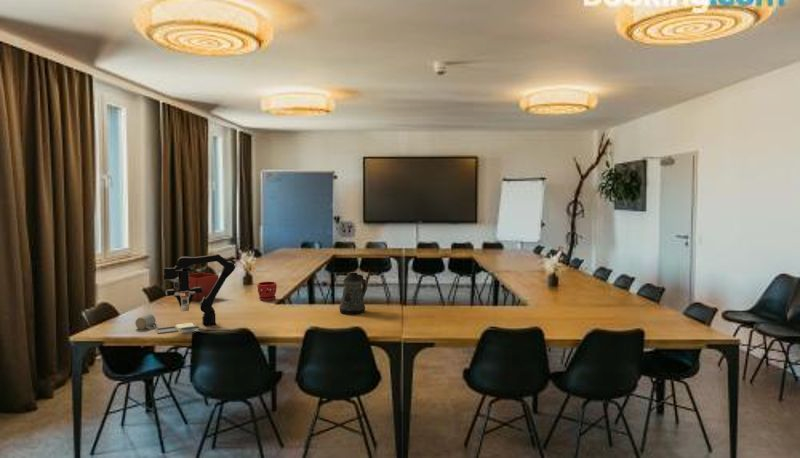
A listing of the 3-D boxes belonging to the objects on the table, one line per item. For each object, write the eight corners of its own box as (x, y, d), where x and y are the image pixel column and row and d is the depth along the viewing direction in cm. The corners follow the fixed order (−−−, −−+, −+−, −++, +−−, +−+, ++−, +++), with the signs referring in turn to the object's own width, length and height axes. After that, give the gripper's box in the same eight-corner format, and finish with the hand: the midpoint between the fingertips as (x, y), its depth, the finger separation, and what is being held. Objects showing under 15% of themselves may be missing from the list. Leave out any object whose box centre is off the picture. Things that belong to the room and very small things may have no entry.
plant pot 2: (257, 298, 386) (256, 281, 385) (275, 297, 390) (275, 281, 389) (258, 302, 373) (257, 284, 373) (277, 301, 377) (277, 284, 376)
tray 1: (175, 328, 303) (175, 326, 303) (178, 332, 295) (178, 330, 295) (155, 330, 298) (155, 328, 298) (158, 334, 289) (157, 332, 289)
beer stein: (335, 314, 338) (335, 274, 336) (345, 307, 357) (345, 270, 355) (360, 315, 334) (360, 276, 332) (369, 309, 353) (369, 271, 351)
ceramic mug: (134, 329, 299) (134, 316, 299) (144, 326, 307) (144, 313, 307) (150, 331, 297) (150, 317, 296) (160, 327, 305) (160, 314, 304)
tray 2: (199, 328, 304) (198, 325, 304) (202, 332, 295) (202, 330, 295) (179, 330, 298) (179, 328, 298) (182, 334, 290) (182, 332, 290)
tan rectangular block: (187, 309, 309) (187, 295, 309) (189, 310, 306) (188, 296, 305) (180, 310, 307) (179, 296, 307) (181, 311, 304) (181, 297, 303)
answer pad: (191, 323, 313) (191, 322, 313) (194, 327, 306) (194, 326, 306) (175, 325, 309) (175, 324, 309) (177, 329, 301) (177, 328, 301)
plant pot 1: (219, 297, 388) (219, 274, 387) (197, 302, 372) (196, 278, 370) (202, 294, 398) (201, 272, 397) (179, 299, 382) (179, 275, 381)
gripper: (198, 275, 317) (198, 301, 318) (163, 278, 307) (164, 305, 308) (202, 278, 307) (202, 305, 309) (166, 281, 298) (167, 309, 299)
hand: (184, 306), depth 306 cm, fingers closed on tan rectangular block, 4 cm apart
